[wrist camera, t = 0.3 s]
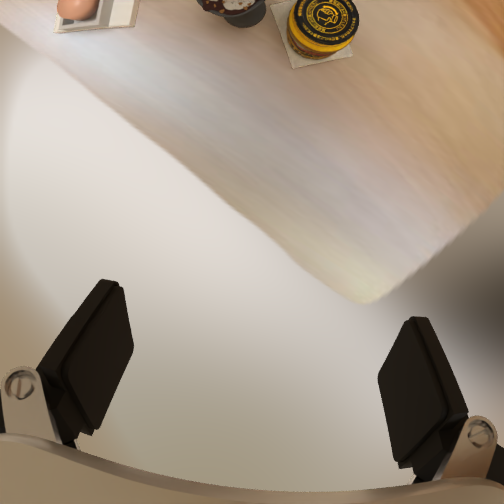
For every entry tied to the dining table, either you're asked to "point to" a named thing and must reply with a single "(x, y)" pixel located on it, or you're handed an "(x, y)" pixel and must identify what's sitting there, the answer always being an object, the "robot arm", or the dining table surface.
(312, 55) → the condiment
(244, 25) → the sundae
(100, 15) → the panel
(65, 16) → the terracotta button
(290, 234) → the dining table surface
